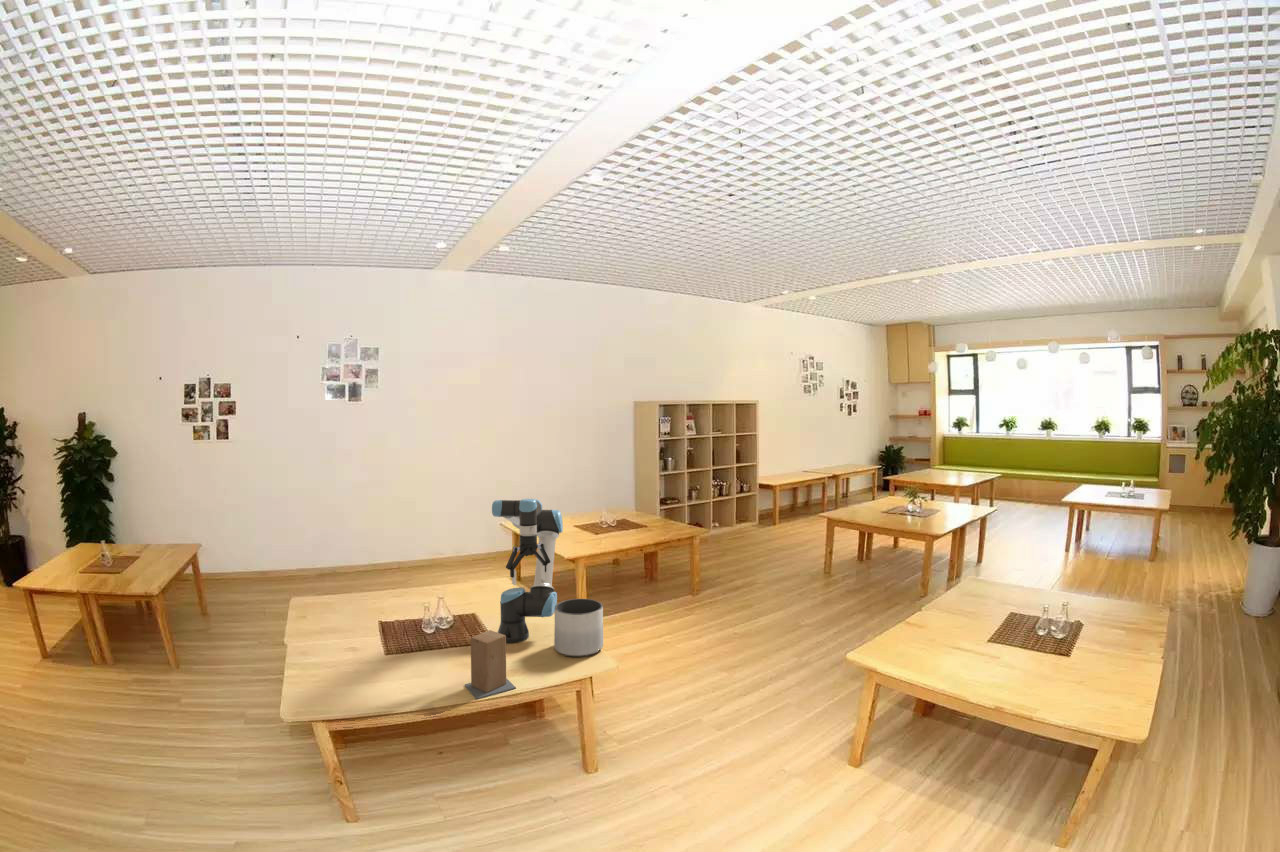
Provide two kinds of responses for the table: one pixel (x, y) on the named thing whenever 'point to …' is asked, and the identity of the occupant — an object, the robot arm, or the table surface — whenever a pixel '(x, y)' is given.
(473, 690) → the mat
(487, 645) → the wooden block
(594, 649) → the planter
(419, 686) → the table surface
